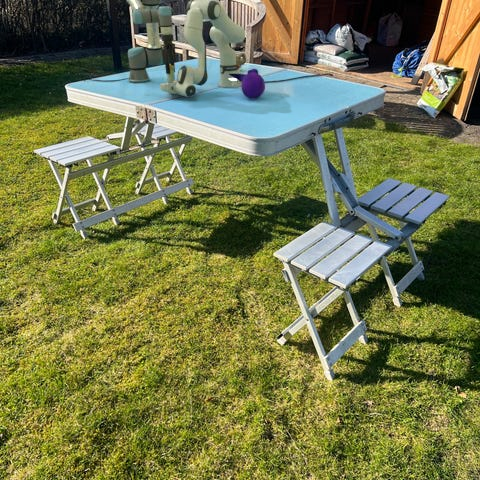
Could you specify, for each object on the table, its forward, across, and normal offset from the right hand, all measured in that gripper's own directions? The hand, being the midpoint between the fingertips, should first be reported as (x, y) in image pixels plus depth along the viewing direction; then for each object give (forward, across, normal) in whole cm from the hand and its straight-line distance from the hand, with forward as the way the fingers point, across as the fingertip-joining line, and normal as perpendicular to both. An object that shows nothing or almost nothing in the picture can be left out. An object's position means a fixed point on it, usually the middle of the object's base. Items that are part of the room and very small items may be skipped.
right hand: (171, 83), depth 298 cm
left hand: (-1, 0, -7) cm, 7 cm away
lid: (-1, 0, -11) cm, 11 cm away
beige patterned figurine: (+46, -77, +7) cm, 90 cm away
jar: (-1, 0, +7) cm, 7 cm away
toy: (-39, -36, +7) cm, 54 cm away
